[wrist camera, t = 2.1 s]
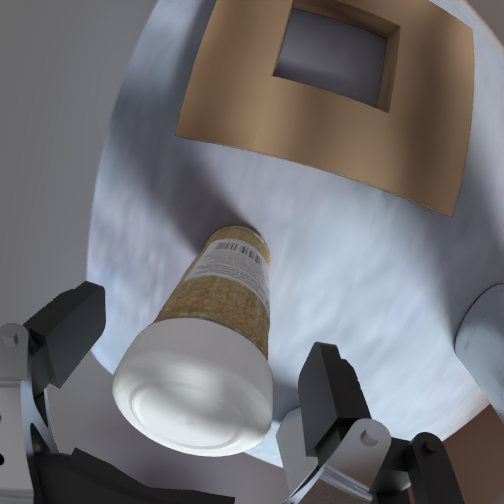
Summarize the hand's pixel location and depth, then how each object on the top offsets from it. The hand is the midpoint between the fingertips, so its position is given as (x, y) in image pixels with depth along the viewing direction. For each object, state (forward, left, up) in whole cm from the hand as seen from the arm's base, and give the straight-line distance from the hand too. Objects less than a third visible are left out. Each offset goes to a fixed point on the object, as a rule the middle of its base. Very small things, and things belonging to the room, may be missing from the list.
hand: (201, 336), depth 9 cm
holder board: (-4, -15, -10) cm, 18 cm away
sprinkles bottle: (0, 0, -10) cm, 10 cm away
